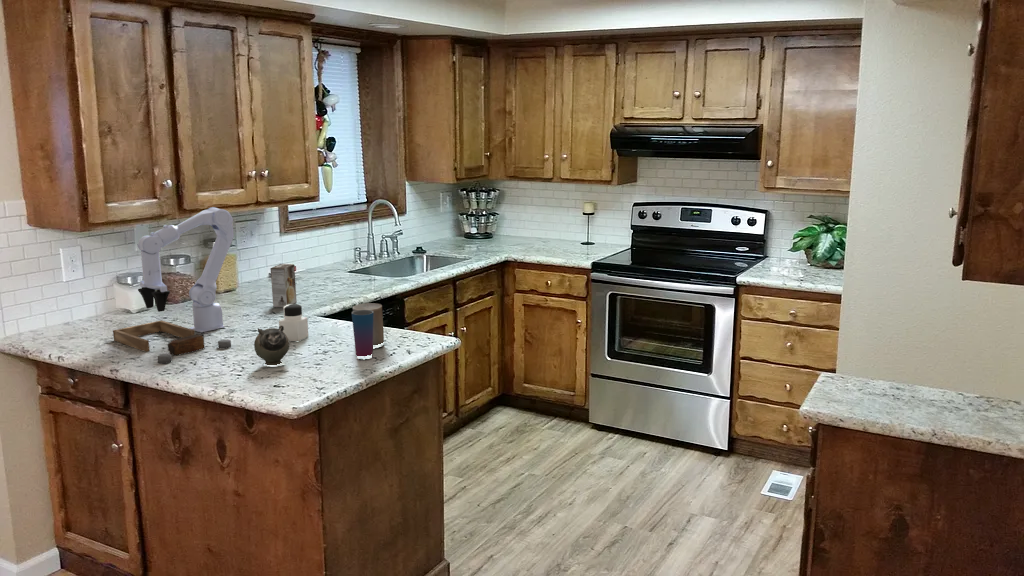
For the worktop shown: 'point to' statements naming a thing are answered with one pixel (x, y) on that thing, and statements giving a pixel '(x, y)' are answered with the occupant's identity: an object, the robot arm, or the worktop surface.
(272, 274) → the coffee box
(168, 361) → the puck left
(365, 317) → the cup
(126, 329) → the wooden frame
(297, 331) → the medicine bottle
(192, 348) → the brick
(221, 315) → the robot arm
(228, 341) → the puck right
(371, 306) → the pillar candle
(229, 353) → the worktop surface
